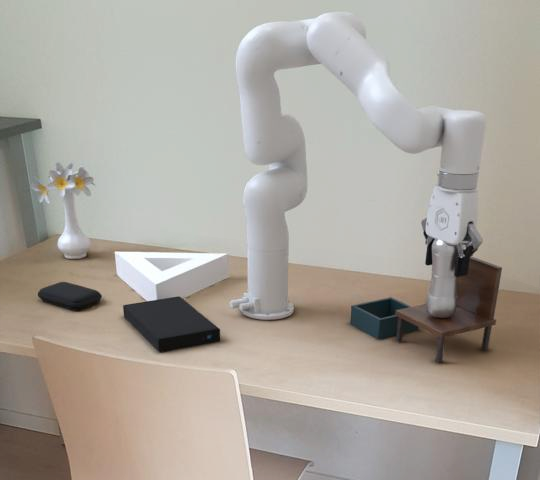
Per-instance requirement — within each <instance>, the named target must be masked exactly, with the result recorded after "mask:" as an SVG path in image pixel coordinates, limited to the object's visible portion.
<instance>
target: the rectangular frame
mask: <svg viewBox="0 0 540 480" xmlns="http://www.w3.org/2000/svg"><path fill="white" fill-rule="evenodd" d="M408 307H412V306H411V305H409V304H407V303H405V302H403V301H401V300H399V299H396V298H394V297H392V296H391V297H390V296H389V297H386V298H380V299H375V300H370V301H366V302H361V303H356V304H352V305H350V320H349V325H351V326H353V327H355V328H356V329H358V330H360V331H362V332H364V333H366V334H367V335H369V336H371V337H373V338H375V339H377V340H381V339H384V338H389V337H392V336H396V335H397V325H398V317H397V316H395V313H396V310H399V309H404V308H408ZM419 328H420V327H418V326H416V325H414V324H412V323H410V322H408V321H406V320H404V328H403V334H405V333H410V332H414V331H418V330H419Z"/></svg>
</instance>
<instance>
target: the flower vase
mask: <svg viewBox="0 0 540 480" xmlns="http://www.w3.org/2000/svg"><path fill="white" fill-rule="evenodd" d="M73 167H74V164H73V162H69V163H67V165H65V167H64V166H63V165H62V163H61V162H58V161H56V162H55V163H54V169H49V171H48V174H49V175H48V179H50V181H49V182H47V184H46V185H45V184H44V183H42V182H41V180H39V179H38V178H37V177H36V176H33V181H34V183H30V184H29V187H30V188H31V189H32V191H35V192H38V194H37V201H38V202H39V203H40V204H41V203H43V201H44V200H45V202H46V203H47V204H49V205H50V204H51V201H50V197H49V192H50V191H54V190H57V195H58V196H59V197H60V198H62V202H63V208H64V209H63V211H64V227H63V228H64V229H63V232H62V233H61V235H59V237H58V239H57V243H56V244H57V245H56V247H57V248H58V250H59V251H60V252H61V253H62V254H64V255H63V256H64V258H65V259H69V260H80V259H83V258H86V257H87V254H88V253H87V252H89V251H90V249H91V247H92V243H91V240H90V238H89V237H88V235H86V233H84V232H83V231H82V229H81V227H80V224H79V221H78V217H77V209H76V205H75V204H76V203H75V196H80V194H81V193H83V194H84V195H85V196H87V197H91V195H92V192H91V190H90V188H89V187H88V186H89V185H93V186H94V187H96V184H95V183H94V177H92V176H90V174H89V172H88V171H87V170H86V169H85V167H84V165H83V164H82V162H81V160H79V168H78V171H74V172H73Z"/></svg>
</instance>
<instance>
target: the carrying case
mask: <svg viewBox="0 0 540 480" xmlns="http://www.w3.org/2000/svg"><path fill="white" fill-rule="evenodd" d="M37 297H38V298H39V299H40V300H42V301H43V302H46V303H50V304H53V305H55V306H59V307H63V308H66V309H70V310H73V311H80V310H82V309H84V308H88V307H90V306H92V305H93V306H94V305H95V304H98V303H99V302H100V301H101V300H102V298H103V295H102V293H100V291H98V290H96V289H94V288H91V287H86V286H82V285H79V284H75V283H71V282H68V281H59V282H56V283H53V284H51V285H48V286H44V287H42V288H40V289H39V290H38V292H37Z"/></svg>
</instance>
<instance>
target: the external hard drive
mask: <svg viewBox="0 0 540 480" xmlns="http://www.w3.org/2000/svg"><path fill="white" fill-rule="evenodd" d="M122 311H123V317H124V319H126V321H127V322H129V324H131V326H133V328H135V329H136V331H138V332H139V333H140V334H141V336H143V338H145V339H146V340H147V341H148V342H149V343H150V344H151V345H152V346H153V348H154V349H156V350H157V351H158V352H159V353H165V352H166V353H167V352H170V351H177V350H180V349H181V350H182V349H187V348H191V347H198V346H202V345H208V344H213V343H220V342H221V328H219V327H218V326H217V325H216V324H214V323H213V322H212V321H211V320H209V319H208V318H207V317H206V316H205V315H204V314H203V313H201V312H200V311H198V310H197V309H196V308H195V307H193V306H192V305H191V304H190V303H189V302H187V301H186V300H184V298H183V299H182V298H181V297H180V296H178V297H172V298H165V299H159V300H153V301H146V300H145V301H141V302H134V303H127V304H123V305H122Z"/></svg>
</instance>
